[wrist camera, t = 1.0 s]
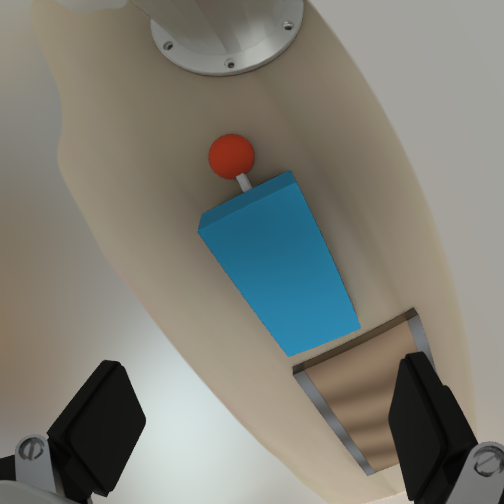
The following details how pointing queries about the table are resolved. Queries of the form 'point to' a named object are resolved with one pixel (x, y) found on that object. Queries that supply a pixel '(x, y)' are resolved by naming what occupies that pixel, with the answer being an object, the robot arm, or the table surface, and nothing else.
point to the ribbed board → (363, 387)
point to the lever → (276, 254)
